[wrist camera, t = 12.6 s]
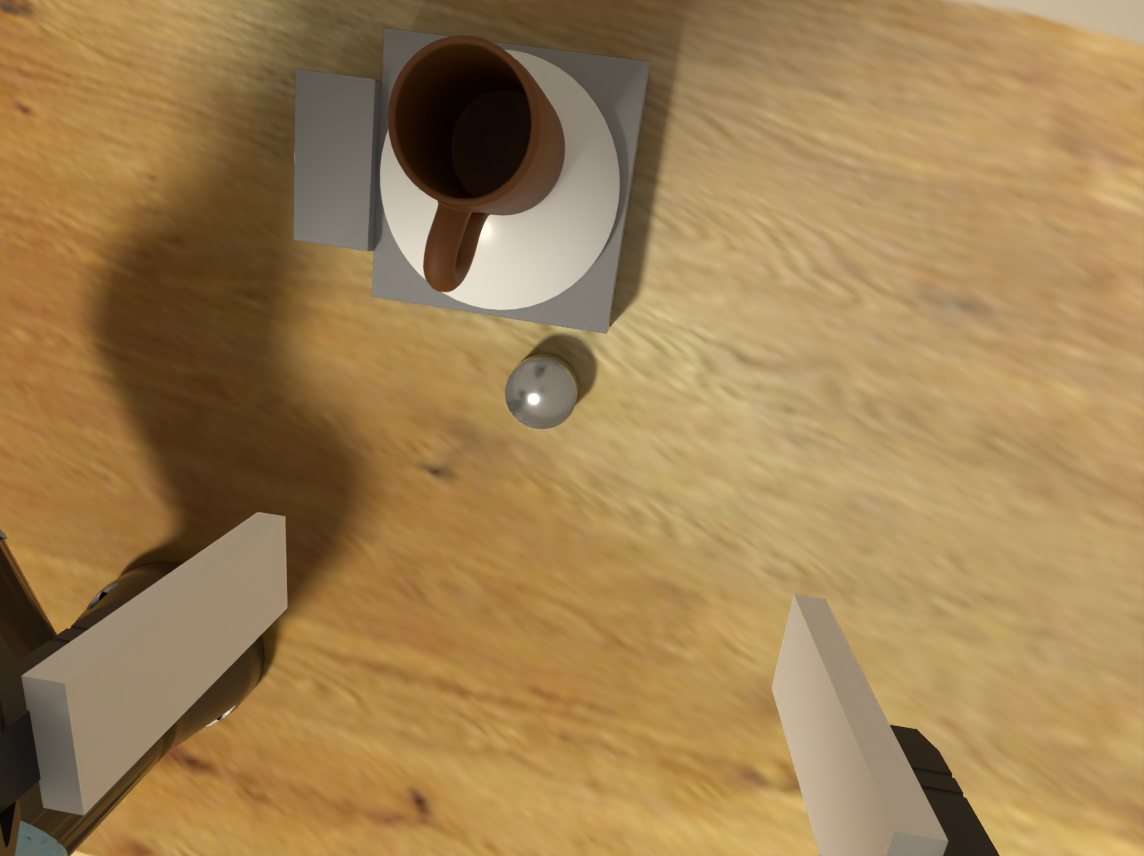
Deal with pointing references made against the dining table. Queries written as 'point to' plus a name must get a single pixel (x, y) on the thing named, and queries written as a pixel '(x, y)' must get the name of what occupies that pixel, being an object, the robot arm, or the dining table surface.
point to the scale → (507, 243)
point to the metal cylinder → (542, 391)
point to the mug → (471, 144)
